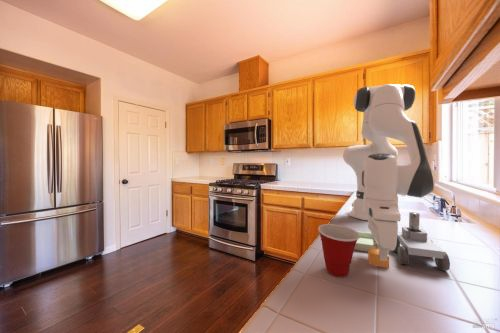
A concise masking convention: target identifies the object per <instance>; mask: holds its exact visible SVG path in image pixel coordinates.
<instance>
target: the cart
mask: <svg viewBox="0 0 500 333" xmlns="http://www.w3.org/2000/svg"><path fill="white" fill-rule="evenodd" d="M393 252H397V258H398V262H399V264H400V265H401V264H403V265H409V262H410V255H411V256H419V257H425V258H426V257H429V258H432V259H433V258H434V263H435V266H436V268H437V269H438V270H441V271H447V272H448V271H449V270H450V268H451V265H450V264H451V262H450V258H449V255H448V254H447V252H446V251H443V249H441V248H440V247H439V246H438V245H437V244H435V243H434V241H433V240H432V239H429V237H428V232H426V231H425V230H424V229H422V228H419V232H413V231H409V226H402V227H401V231H398V234H397V244H396V248H395V250H394V251H393Z"/></svg>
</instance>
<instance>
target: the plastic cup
mask: <svg viewBox="0 0 500 333" xmlns="http://www.w3.org/2000/svg"><path fill="white" fill-rule="evenodd" d="M317 228H318V229H317V231H318V232H319V236H320V241H321V246H322V254H323V259H324V265H325V269H326V272H327V274H329V275H331V276H334V277H338V278H344V277H348V275H349V273H350V268H351V264H352V261H353V256H354V252H355V250H354V248H355V245H356V242H357V240H358V239H359V238H360V235H359V233H358V232H356V231H357V230H355V229H352V228H350V227H348V226H345V225H341V224H340V225H339V224H335V223H333V224H332V223H326V224H325V223H324V224H321V225H319V226H318V227H317Z"/></svg>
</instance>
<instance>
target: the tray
mask: <svg viewBox="0 0 500 333" xmlns="http://www.w3.org/2000/svg"><path fill="white" fill-rule="evenodd" d="M355 231H356V232H358V233H359V235H360V238H359V239H358V240H357V242H356V245H355V248H354V251H360V252H368V248H370V249H377V250H379V248H375V247H374V246H373V238H372V233H371V232H368V231H367V232H366V231H360V230H359V231H358V230H355Z"/></svg>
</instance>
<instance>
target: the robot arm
mask: <svg viewBox="0 0 500 333" xmlns="http://www.w3.org/2000/svg"><path fill="white" fill-rule="evenodd" d="M416 94H417V93H416V89H415V87H414V86H413V85H410V84H402V85H401V84H392V83H389V84H388V83H387V84H383V85H375V86H363V87H361V88H359V89H358V90H357V91H356V93H355V94H354V97H353V107H354V109H355V111H357V112H360V113H364V114H363V120H362V125H361V126H362V127H361V133H360V134H361V136H362V137H363V138H364V139H365V140H366V141H369V142H371V144H356V145H350V146H347V147H346V148H345V149H344V151H343V153H342V158H343V160H344V162H345V164H347V165H348V166H349V167H351V168H352V169H353V172H354V173H355V176H356V185H357V188H356V193H355V195H356V196H355V197H356V198H355V199H354V200H353V202H352V203H351V207H352V208H351V211H350V213H349V214H348V216H349V217H351V218H352V217H353V218H355V219H359V220H363V221H367V225H368V229H369V232H370V233H372V238H373V246H374V247H375V248H379V259H380V260H381V261H387V255H388V254H389V252H390V251H392V252H395V251H394V250H395V248H396V244H397V234H398V232H399V231H398V230H399V226H398V225H399V224H398V222H401V218H402V217H401V212H400V211H399V210H400V209H399V196H400V195H401V196H408V197H414V198H420V199H421V198H423V197H426V196H428V195H429V194H430V193H432V192H433V191H434V189H435V184H436V183H435V182H436V179H435V175H434V173H433V171H432V169H431V166H430V163H429V161H428V157H427V152H426V150H425V146H424V142H423V139H422V136H421V132H420V129H419V126H418V124H417V123H416V121H414V120H412V119H409V118H408V117H407V115H406V114H405V111H409V109H411V108H412V106H413V104H414V103H415V100H416V97H417V95H416ZM389 138H390V139H393V140H397V141H400V142H402V143H404V144H405V146H406V147H407V150H408V155H409V158H410V163H409V164H398V162H397V160H398V158H399V151H398V149H397V148H396V146H394V145H393V144H391V142H390V141H389Z"/></svg>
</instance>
